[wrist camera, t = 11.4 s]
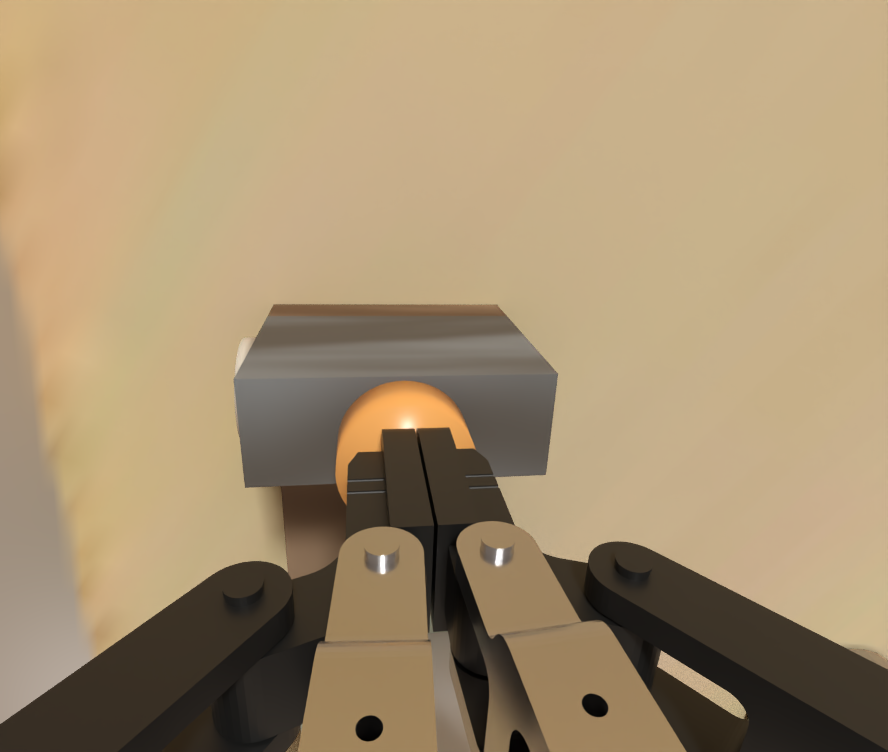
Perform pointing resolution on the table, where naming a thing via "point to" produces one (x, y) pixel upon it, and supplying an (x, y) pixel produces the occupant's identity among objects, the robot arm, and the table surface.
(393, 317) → the rail
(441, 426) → the gauge button
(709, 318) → the table surface
